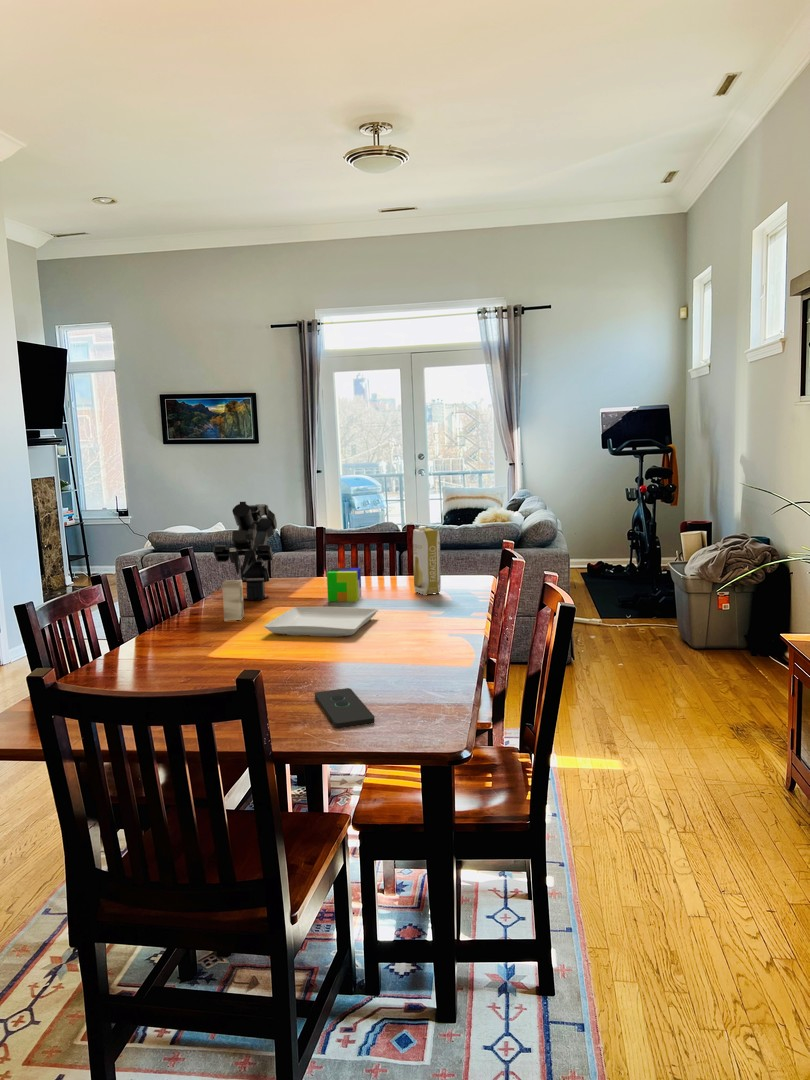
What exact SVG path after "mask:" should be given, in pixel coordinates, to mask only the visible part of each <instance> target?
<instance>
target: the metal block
mask: <svg viewBox="0 0 810 1080" xmlns="http://www.w3.org/2000/svg"><path fill="white" fill-rule="evenodd" d="M221 583H222V584H221V585H222V586H221V587H222V601H223V602H222V603H223V604H222V605H223V620H224V622H228V621H227V620H241V619H242V618H243V617H244V618H245V611H244V610H245V609H244V608H245V607H244V594H243V593H244V589H243V587H244V586H243V583H242V579H227V580H224V581H223V582H221ZM244 618H243V619H244ZM243 619H242V620H243ZM242 620H241V621H242Z"/></svg>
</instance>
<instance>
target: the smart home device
mask: <svg viewBox="0 0 810 1080" xmlns="http://www.w3.org/2000/svg"><path fill="white" fill-rule="evenodd" d="M314 699H316V700H317V701H316V700H315V701H316V702H317V704H318V703H319V704H318V705H319V707H320V706H321V707H320V708H321V710H322V709H323V710H322V711H323V713H324V712H325V713H324V714H325V716H326V715H327V716H326V717H327V719H328V721H329V722H330V723H331V724H332V726H333V727H334V728H335V729H337V728H339V729H343V727H346V728H351V727H350V726H353V727H357V725H360V726H366V725H365V724H367V725H372V724H371V723H374V722H375V715H374V714H373V713H372V712H371V710H370V709H369V708H368V707H367V706H366V705H365V704H364V702H363V701H362V700H361V698H359V697H358V695H357V694H356V693H355V692H354V690H353V689H352V688H350V687H344V688H339V689H338V688H337V689H332V690H330V689H329V690H322V691H316V692H314ZM374 724H375V723H374Z"/></svg>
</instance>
